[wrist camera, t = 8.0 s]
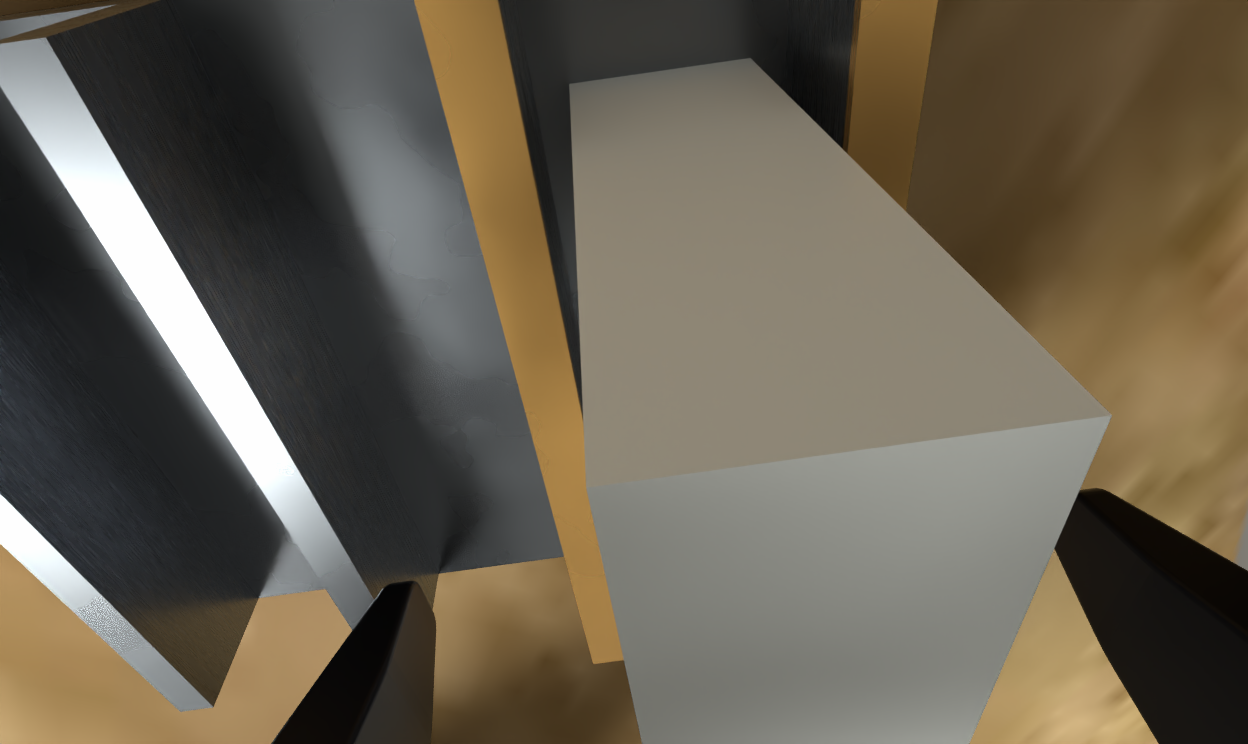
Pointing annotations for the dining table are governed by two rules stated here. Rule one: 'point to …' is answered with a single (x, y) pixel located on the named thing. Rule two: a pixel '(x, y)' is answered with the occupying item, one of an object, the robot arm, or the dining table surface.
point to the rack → (334, 288)
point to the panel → (800, 427)
